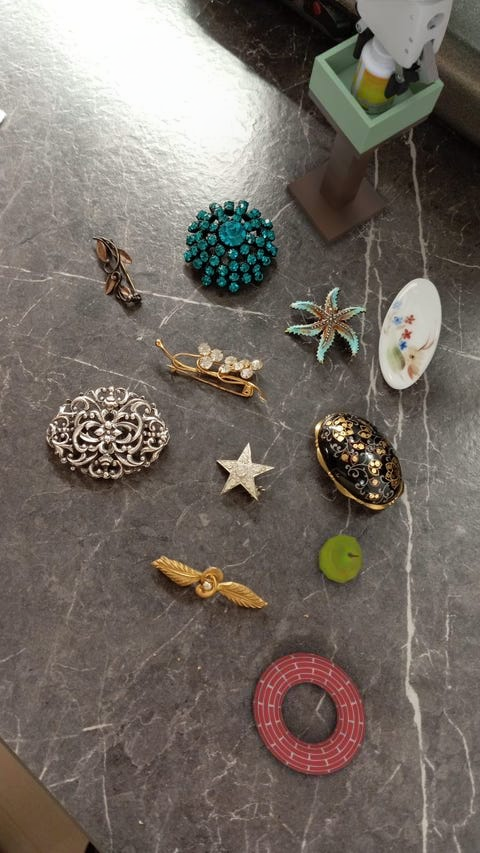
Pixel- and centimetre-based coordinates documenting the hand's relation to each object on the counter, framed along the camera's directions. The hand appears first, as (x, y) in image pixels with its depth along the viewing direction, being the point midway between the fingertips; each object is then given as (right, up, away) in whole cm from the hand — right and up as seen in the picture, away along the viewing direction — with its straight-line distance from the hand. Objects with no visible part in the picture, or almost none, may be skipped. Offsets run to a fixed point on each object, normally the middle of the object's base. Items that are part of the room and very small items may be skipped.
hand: (379, 71), depth 108 cm
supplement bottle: (0, -1, +5) cm, 5 cm away
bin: (0, -1, +5) cm, 6 cm away
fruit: (-3, -61, +17) cm, 64 cm away
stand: (-2, -8, +31) cm, 32 cm away
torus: (-8, -81, +12) cm, 82 cm away
